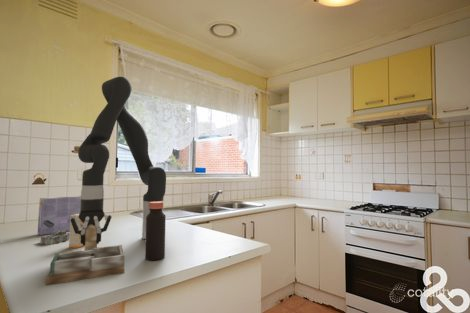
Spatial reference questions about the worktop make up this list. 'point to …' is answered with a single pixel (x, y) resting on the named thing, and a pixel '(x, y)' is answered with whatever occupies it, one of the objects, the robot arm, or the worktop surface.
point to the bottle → (155, 232)
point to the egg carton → (55, 237)
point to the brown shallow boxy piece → (86, 264)
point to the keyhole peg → (90, 237)
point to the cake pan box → (57, 213)
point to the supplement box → (75, 238)
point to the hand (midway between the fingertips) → (90, 243)
